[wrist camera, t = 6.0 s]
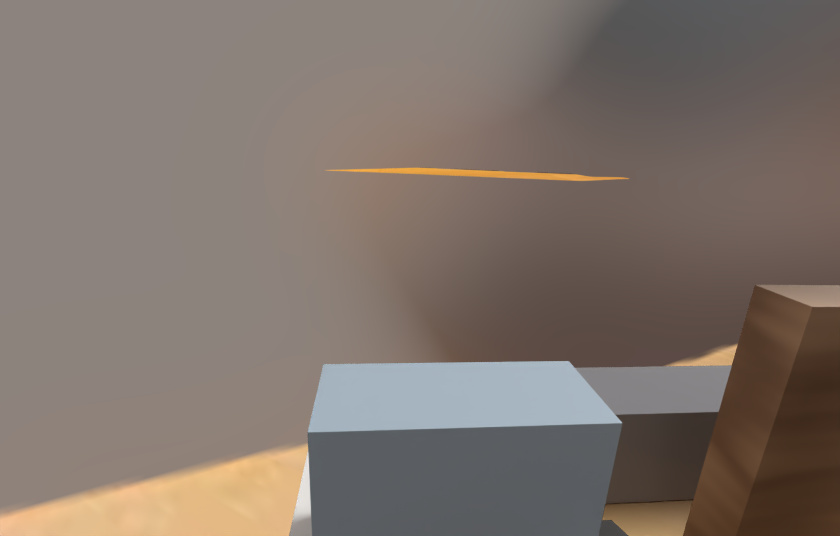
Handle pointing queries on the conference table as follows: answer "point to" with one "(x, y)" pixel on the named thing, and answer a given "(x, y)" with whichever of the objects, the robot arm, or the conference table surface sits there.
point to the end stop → (659, 427)
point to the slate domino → (459, 450)
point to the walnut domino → (777, 422)
